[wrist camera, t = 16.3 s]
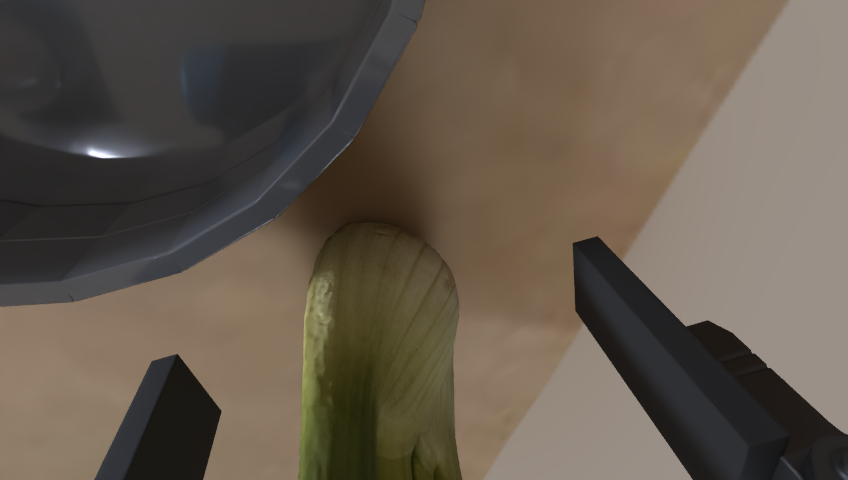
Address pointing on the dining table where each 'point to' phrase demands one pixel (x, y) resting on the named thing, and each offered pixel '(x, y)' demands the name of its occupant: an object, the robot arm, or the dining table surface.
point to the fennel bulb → (379, 359)
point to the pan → (171, 127)
